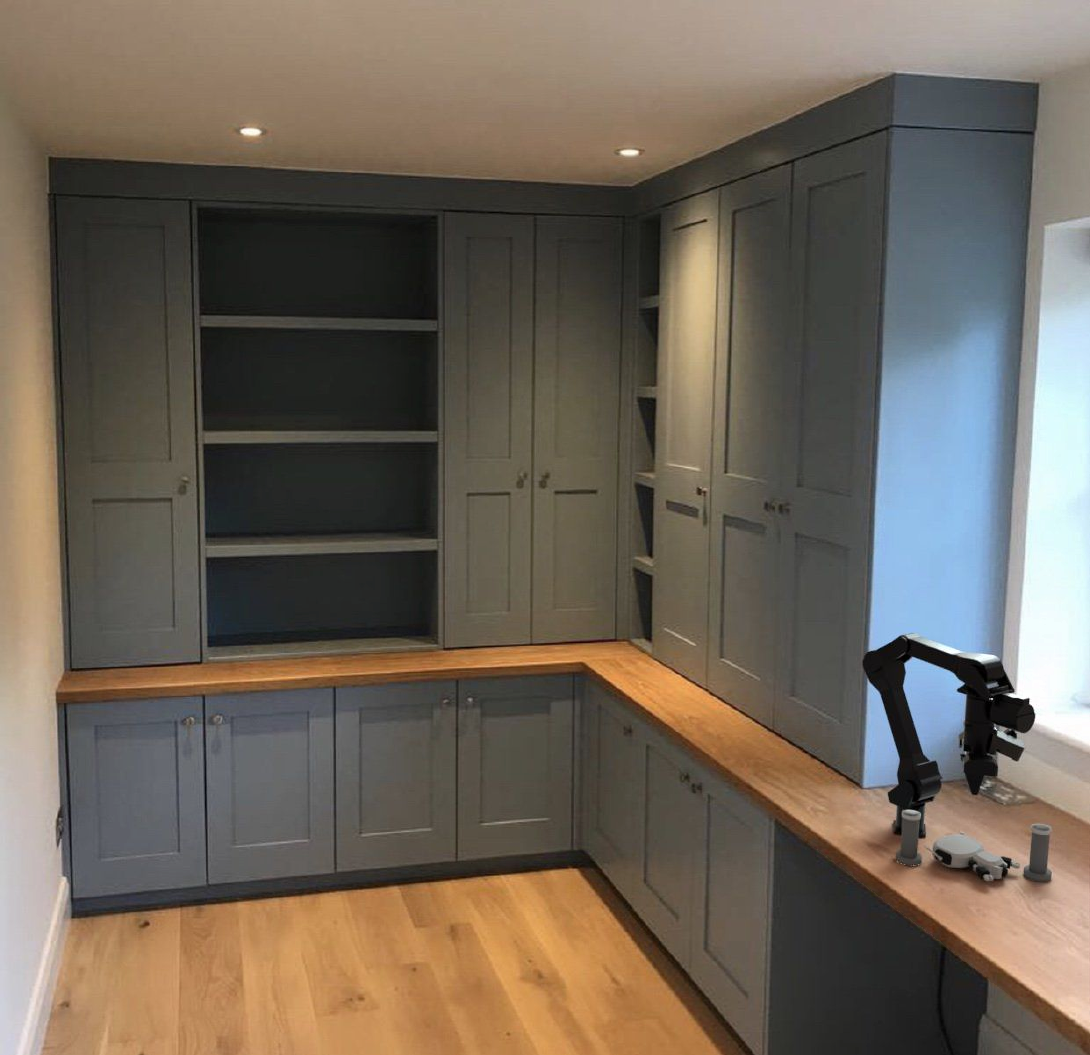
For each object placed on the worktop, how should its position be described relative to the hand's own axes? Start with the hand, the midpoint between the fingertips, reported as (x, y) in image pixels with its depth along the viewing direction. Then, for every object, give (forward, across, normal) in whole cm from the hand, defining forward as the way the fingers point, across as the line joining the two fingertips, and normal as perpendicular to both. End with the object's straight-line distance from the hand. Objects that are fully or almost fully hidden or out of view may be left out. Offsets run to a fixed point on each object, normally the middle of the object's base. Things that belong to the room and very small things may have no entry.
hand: (974, 794), depth 246 cm
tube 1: (+13, -6, +12) cm, 19 cm away
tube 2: (+13, -6, -12) cm, 19 cm away
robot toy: (+13, -6, 0) cm, 15 cm away
